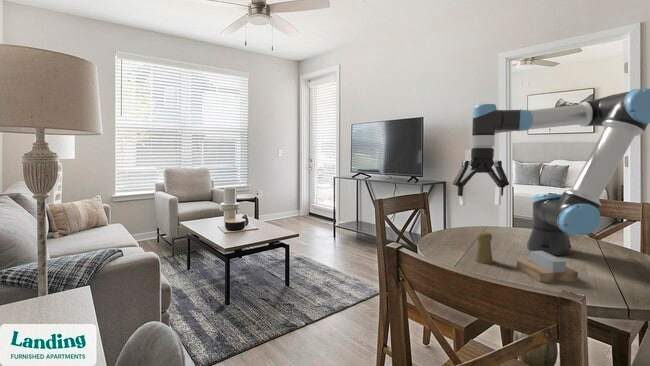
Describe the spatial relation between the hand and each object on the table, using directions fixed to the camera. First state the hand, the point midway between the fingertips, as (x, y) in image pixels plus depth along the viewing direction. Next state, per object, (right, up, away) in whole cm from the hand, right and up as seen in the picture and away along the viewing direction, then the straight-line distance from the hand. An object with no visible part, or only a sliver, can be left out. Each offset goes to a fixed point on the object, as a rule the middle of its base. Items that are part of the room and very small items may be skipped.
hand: (479, 204), depth 123 cm
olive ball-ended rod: (+2, -21, +1) cm, 22 cm away
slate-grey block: (+16, -19, -14) cm, 29 cm away
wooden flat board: (+15, -23, -14) cm, 31 cm away
